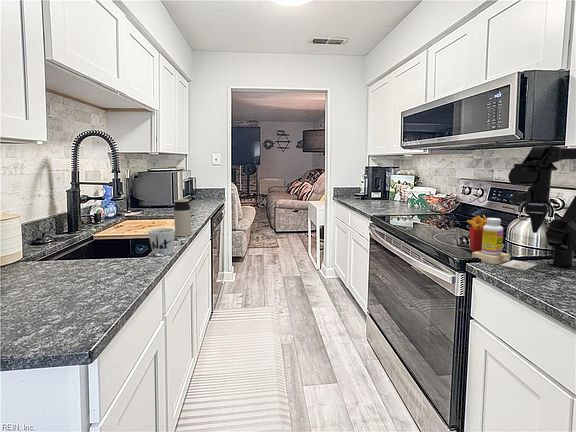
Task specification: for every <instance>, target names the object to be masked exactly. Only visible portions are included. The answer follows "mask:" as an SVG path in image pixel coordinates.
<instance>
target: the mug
mask: <svg viewBox="0 0 576 432" xmlns="http://www.w3.org/2000/svg"><path fill="white" fill-rule="evenodd" d="M147 234H148V237H149V243H150V247H151V250H152V253H153V252H154V253H170V252H173V253H174V244H175V228H156V229H155V228H154V229H150V230H148V231H147Z"/></svg>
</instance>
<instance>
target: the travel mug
mask: <svg viewBox="0 0 576 432" xmlns="http://www.w3.org/2000/svg"><path fill="white" fill-rule="evenodd" d="M189 201H190V199H189V198H188V199H187V198H186V199H184V198H182V199H180V198H179V199H174V200H173V202H174V205H173V216H174V217H173V218H174V230H175V234H176V235H190V234H192V223H191V222H192V216H191V206H190V204H189ZM190 236H191V235H190Z"/></svg>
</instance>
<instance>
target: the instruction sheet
mask: <svg viewBox="0 0 576 432" xmlns="http://www.w3.org/2000/svg"><path fill="white" fill-rule="evenodd" d="M502 266H503V267H507V268H512V269H513V268H514V269H518V270H522V271H527V270H529V269H531V268H534V267H535V266H538V264H537V263H531V262H526V261H521V260H516V259H512V260H510V261H507V262H503V263H501V267H502Z"/></svg>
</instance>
